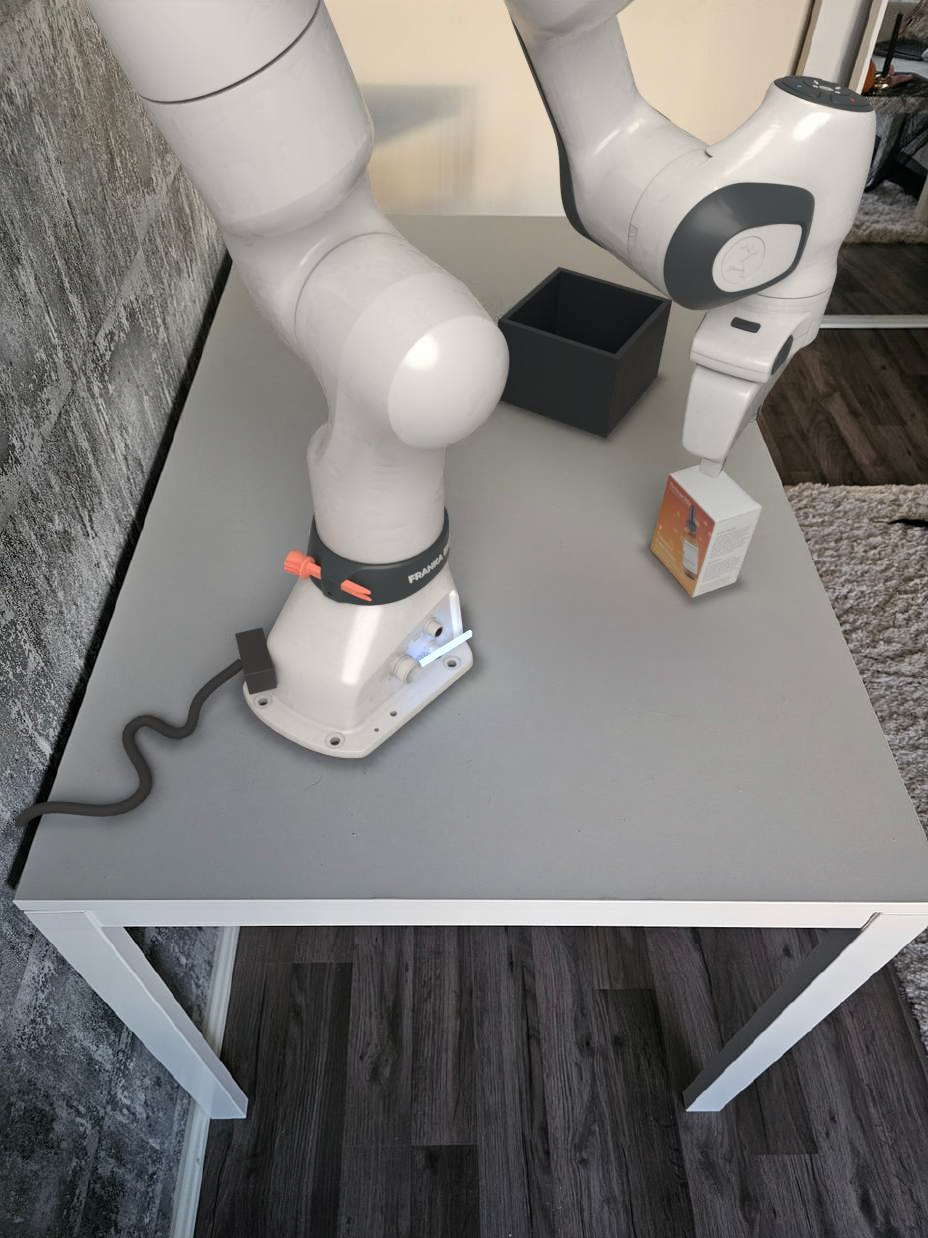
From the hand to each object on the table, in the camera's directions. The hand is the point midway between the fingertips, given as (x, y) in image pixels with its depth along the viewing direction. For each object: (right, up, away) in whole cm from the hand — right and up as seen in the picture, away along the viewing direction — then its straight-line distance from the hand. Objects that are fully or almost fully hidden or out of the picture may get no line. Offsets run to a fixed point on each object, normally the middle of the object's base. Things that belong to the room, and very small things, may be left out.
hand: (729, 443), depth 83 cm
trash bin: (-10, +14, +33) cm, 37 cm away
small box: (-1, -11, +12) cm, 16 cm away
